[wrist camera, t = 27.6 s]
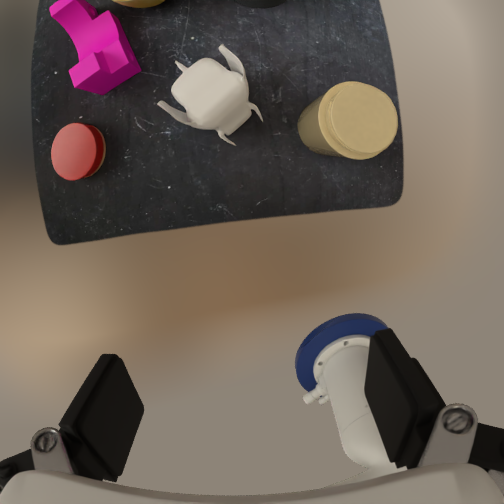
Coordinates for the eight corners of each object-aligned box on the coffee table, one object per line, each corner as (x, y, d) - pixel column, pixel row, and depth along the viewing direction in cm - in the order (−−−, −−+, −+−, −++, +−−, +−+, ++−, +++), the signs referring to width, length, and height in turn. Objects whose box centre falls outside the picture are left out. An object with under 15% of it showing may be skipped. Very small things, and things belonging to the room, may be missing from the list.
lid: (69, 118, 33) (60, 117, 31) (111, 131, 34) (103, 131, 32) (54, 169, 35) (45, 171, 33) (94, 185, 36) (86, 187, 34)
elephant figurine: (221, 160, 36) (212, 164, 28) (157, 97, 33) (132, 85, 25) (278, 109, 34) (286, 98, 26) (212, 46, 31) (202, 20, 23)
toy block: (141, 70, 32) (118, 56, 25) (102, 95, 33) (74, 87, 26) (109, -1, 27) (87, -21, 20) (75, 22, 28) (49, 7, 21)
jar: (326, 166, 36) (365, 178, 23) (285, 126, 35) (305, 113, 22) (363, 129, 35) (417, 124, 21) (324, 89, 33) (362, 60, 20)
